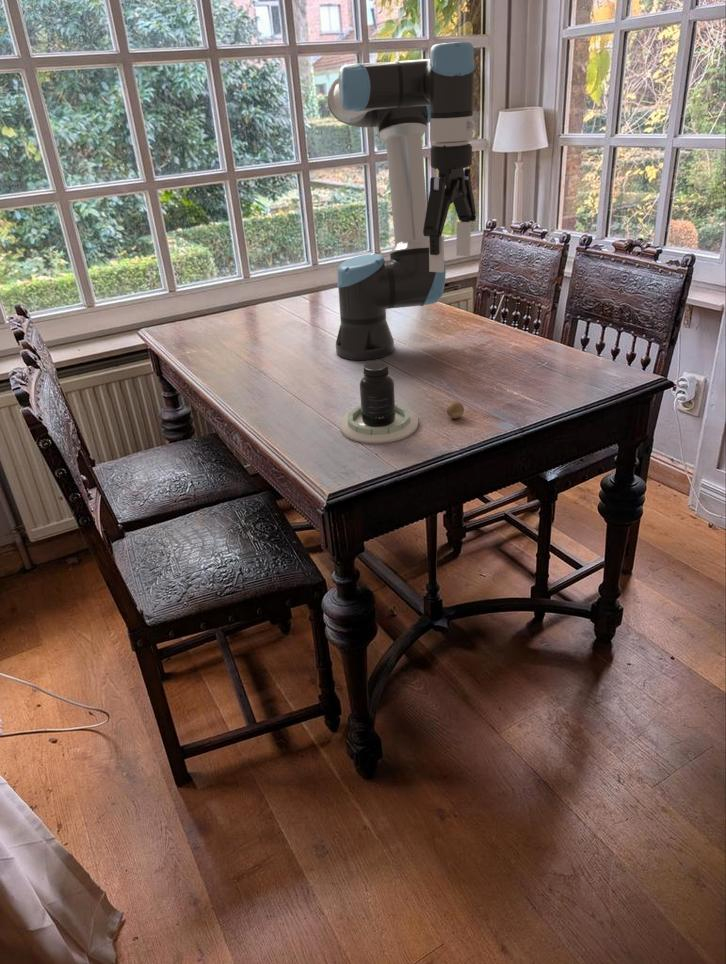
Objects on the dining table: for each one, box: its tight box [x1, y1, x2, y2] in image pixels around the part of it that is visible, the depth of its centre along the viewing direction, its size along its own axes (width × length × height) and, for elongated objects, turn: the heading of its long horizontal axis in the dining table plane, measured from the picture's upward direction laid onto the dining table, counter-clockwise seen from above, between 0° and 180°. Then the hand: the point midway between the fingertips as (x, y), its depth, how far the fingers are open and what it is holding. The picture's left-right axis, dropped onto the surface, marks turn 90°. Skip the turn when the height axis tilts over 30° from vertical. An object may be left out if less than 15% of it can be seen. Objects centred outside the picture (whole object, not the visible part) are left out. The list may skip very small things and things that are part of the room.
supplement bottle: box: [359, 360, 396, 427], centre depth 135 cm, size 7×7×12 cm
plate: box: [339, 403, 419, 444], centre depth 138 cm, size 16×16×2 cm
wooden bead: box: [446, 401, 465, 420], centre depth 139 cm, size 4×4×4 cm
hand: (450, 263), depth 134 cm, fingers open, 13 cm apart
